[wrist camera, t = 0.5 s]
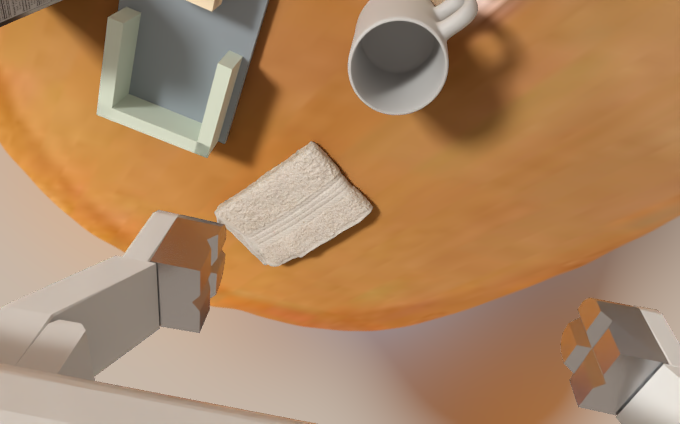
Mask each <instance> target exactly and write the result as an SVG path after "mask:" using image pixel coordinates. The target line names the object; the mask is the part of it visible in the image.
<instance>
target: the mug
mask: <svg viewBox="0 0 680 424" xmlns="http://www.w3.org/2000/svg"><path fill="white" fill-rule="evenodd" d="M477 12H478V5H477V2H476V0H446V1H444V2H443V3H441V4H439V5H438V6H436V7H435V6H434V5H433V3H432V2H431V1H430V0H370V1H369V2H368V3H367V4H366V5H365V7H364V8H363V10H362V11H361V13H360V15H359V18H358V21H357V25H356V30H355V35H354V38H353V42H352V46H351V50H350V54H349V59H348V74H349V79H350V83H351V85H352V88H353V90H354V91H355V93H356V95H357V96H358V97H359V98H360V100H361V101H363V102H364V103H365V104H366V105H367V106H369V107H370V108H372V109H374V110H376V111H378V112H381V113H384V114H389V115H405V114H409V113H413V112H416V111H418V110H420V109H422V108H424V107H425V106H427V105H428V104H429V103H431V102H432V101H433V100H434V99H435V98H436V97H437V95H438V94H439V93H440V91H441V90H442V88H443V86H444V84H445V81H446V78H447V74H448V67H449V59H448V48H447V40H448V39H449V38H450V37H452V36H453V35H455V34H456V33H458V32H459V31H461V30H462V29H463V28H465V27H466V26H467V25H468V24H470V23H471V22H472V21H473V19H474V18H475V16H476V14H477Z"/></svg>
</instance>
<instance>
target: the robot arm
mask: <svg viewBox="0 0 680 424" xmlns="http://www.w3.org/2000/svg"><path fill="white" fill-rule="evenodd" d="M225 240H226V226H225V224H221V223H216V222H212V221H207V220H203V219H198V218H194V217H189V216H185V215H179V214H174V213H170V212H165V211H161V210H158V211H156V212H154V213H153V214H152V215H151V217H150V218H149V219H148V221H147V222H146V224H145V225H144V227H143V228H142V229H141V231H140V232H139V234H138V235H137V237H136V238H135V239H134V241H133V242H132V244H131V245H130V246H129V248H128V249H127V251H126V252H125V254H124V255H123V256H122V257H121V256H117V255H115V256H113V257H111V258H108V259H107V260H104V261H102V262H100V263H97V264H95V265H93V266H91V267H89V268H86V269H84V270H82V271H79V272H77V273H75V274H73V275H70V276H68V277H66V278H64V279H62V280H59V281H57V282H55V283H53V284H51V285H48V286H46V287H44V288H42V289H39V290H37V291H35V292H33V293H30V294H28V295H26V296H24V297H21V298H19V299H17V300H15V301H13V302H10V303H8V304H6V305H4V306H2V307H1V308H0V424H316V423H310V422H306V421H300V420H295V419H290V418H285V417H280V416H274V415H269V414H264V413H258V412H253V411H248V410H243V409H238V408H233V407H227V406H222V405H217V404H212V403H207V402H201V401H196V400H191V399H186V398H180V397H175V396H170V395H164V394H160V393H154V392H149V391H144V390H139V389H133V388H128V387H123V386H118V385H113V384H108V383H102V382H97V381H95V378H94V376H96V375H97V374H99V373H100V372H101V371H103V370H104V369H105V368H107V367H108V366H109V365H111V364H112V363H114V362H115V361H116V360H118V359H119V358H120V357H122V356H123V355H124V354H126V353H127V352H129V351H130V350H131V349H133V348H134V347H135V346H137V345H138V344H139V343H141V342H142V341H143V340H145V339H146V338H147V337H149V336H150V335H152V334H153V333H154V332H155V331H157V330H158V329H159V328H160V326H161V327H167V328H173V329H179V330H185V331H192V332H197V333H200V330H201V328H202V326H203V324H204V321H205V319H206V317H207V314H208V312H209V309H210V298H211V297H213V296H215V295H216V293H217V291H218V288H219V286H220V282H221V279H222V275H223V270H224V264H225V253H224V252H223V251H222V247H223V245H224V243H225ZM578 312H579V316H580V317H579V318H577V319H575V320H573V321H571V322H569V323H568V325H567V326H566V328H565V330H564V331H563V333H562V338H561V344H560V346H561V355H562V358H563V362H564V364H565V365H566V366H567V367H568V368H569V369H570V370H571V371H572V372H573V375H572V377H571V379H570V383H571V387H572V390H573V393H574V395H575V399H576V402H577V405H578V407H581V408H586V409H590V410H595V411H599V412H604V413H608V414H613V415H617V416H616V418H617V419H618V420H619V422H620V423H621V424H680V343H679V342H678V340H677V338H676V336H675V335H674V333H673V331H672V330H671V328H670V326H669V325H668V323H667V321H666V319H665V317H664V316H663V314H661V313H660V312H659V311H658V310H655V309H650V308H644V307H638V306H630V305H625V304H620V303H614V302H610V301H605V300H599V299H594V298H588V299H586V300H585V301H583V302H582V304H581V305H580V307H579V308H578Z"/></svg>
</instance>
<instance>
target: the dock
mask: <svg viewBox="0 0 680 424" xmlns="http://www.w3.org/2000/svg"><path fill="white" fill-rule="evenodd" d="M268 3H269V0H222V4H221V5H219V6H218V7H217V8H216V9H215V10H213V11H209V10H207V9H205V8H202V7H200V6H198V5H195V4H193V3H191V2H189V1H186V0H119V7H118V12H116V13H114V14H112V15H111V16H109V17H108V20H107V29H106V37H105V46H104V55H103V63H102V72H101V80H100V89H99V98H98V106H97V115H99V116H101V117H104V118H106V119H109V120H111V121H114V122H117V123H119V124H122V125H124V126H127V127H129V128H132V129H134V130H137V131H140V132H142V133H145V134H147V135H150V136H152V137H155V138H157V139H160V140H162V141H165V142H168V143H170V144H173V145H175V146H178V147H180V148H183V149H185V150H188V151H191V152H193V153H196V154H198V155H201V156H203V157H206V158H208V156H209V155H210V153H211V152H212V150H213V148H214V147H215V145H216V144H217V142H221V143H223V144H225V142H226V141H227V138H228V135H229V132H230V128H231V125H232V122H233V118H234V115H235V112H236V108H237V105H238V102H239V98H240V95H241V92H242V89H243V85H244V82H245V79H246V75H247V72H248V69H249V65H250V62H251V59H252V55H253V52H254V49H255V46H256V42H257V39H258V36H259V32H260V29H261V26H262V22H263V19H264V16H265V12H266V9H267V6H268Z"/></svg>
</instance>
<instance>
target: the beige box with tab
mask: <svg viewBox="0 0 680 424" xmlns="http://www.w3.org/2000/svg"><path fill="white" fill-rule="evenodd" d="M186 1H189V2H191V3H193V4H195V5H198V6H200V7H202V8H205V9H207V10H209V11H213V10H215V9H216V8H217V7H218V6H219V5H221V4H222V0H186Z"/></svg>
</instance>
